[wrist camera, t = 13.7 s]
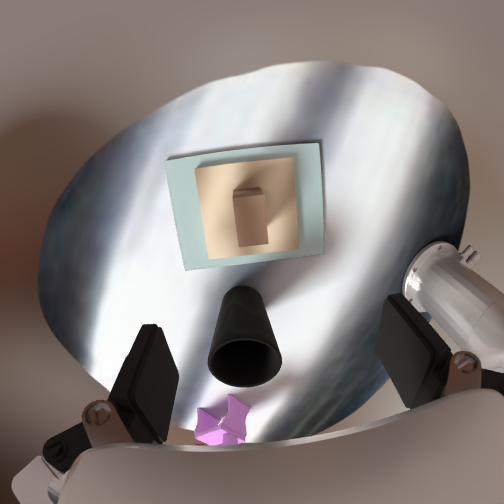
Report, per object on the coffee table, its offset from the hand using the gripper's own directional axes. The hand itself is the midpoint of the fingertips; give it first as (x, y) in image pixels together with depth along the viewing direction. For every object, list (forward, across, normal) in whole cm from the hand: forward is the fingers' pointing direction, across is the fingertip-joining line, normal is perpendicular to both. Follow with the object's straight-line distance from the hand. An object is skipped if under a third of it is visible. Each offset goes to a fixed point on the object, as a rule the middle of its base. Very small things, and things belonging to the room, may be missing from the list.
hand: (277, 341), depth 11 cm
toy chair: (+24, +10, +38) cm, 46 cm away
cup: (+24, +3, +13) cm, 28 cm away
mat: (+24, 0, 0) cm, 24 cm away
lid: (+23, 0, 0) cm, 23 cm away
